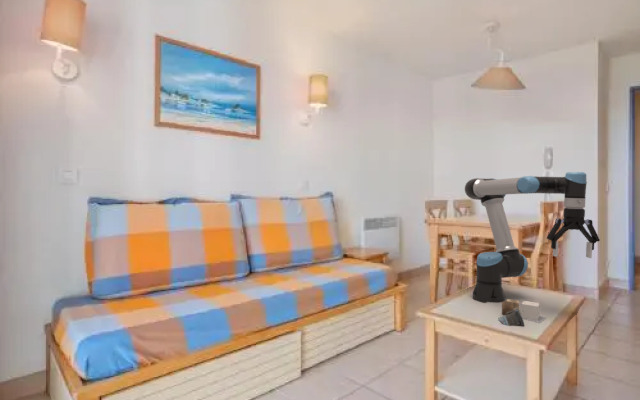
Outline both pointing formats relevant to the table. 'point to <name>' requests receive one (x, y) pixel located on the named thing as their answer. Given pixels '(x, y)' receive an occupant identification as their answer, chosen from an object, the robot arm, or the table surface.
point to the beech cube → (514, 303)
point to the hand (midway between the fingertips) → (571, 257)
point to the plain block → (530, 310)
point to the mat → (535, 320)
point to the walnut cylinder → (506, 307)
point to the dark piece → (512, 318)
